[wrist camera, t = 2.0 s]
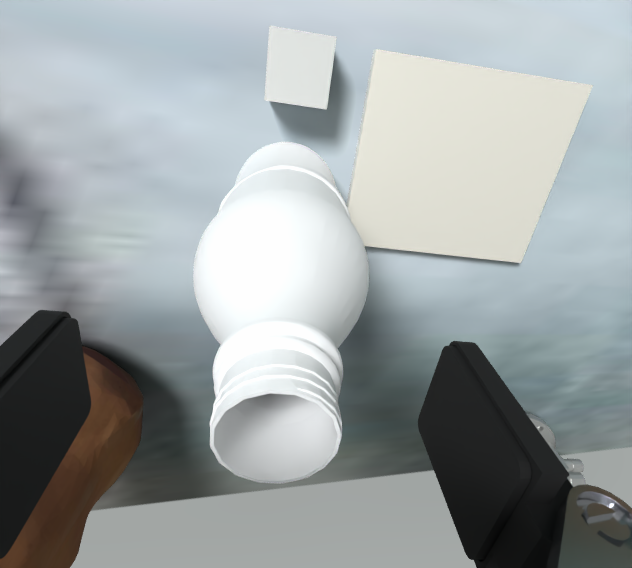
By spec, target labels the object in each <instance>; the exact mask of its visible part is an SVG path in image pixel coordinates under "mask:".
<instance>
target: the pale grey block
mask: <svg viewBox="0 0 632 568" xmlns="http://www.w3.org/2000/svg"><path fill="white" fill-rule="evenodd" d="M336 38H337V37H334V36H329V35H323V34H317V33H311V32H305V31H299V30H293V29H287V28H281V27H275V26H269V41H268V55H267V69H266V83H265V98H264V100H265V101H272V102H279V103H286V104H293V105H299V106H306V107H313V108H320V109H327V105H328V97H329V90H330V83H331V75H332V68H333V60H334V53H335V46H336Z"/></svg>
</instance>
